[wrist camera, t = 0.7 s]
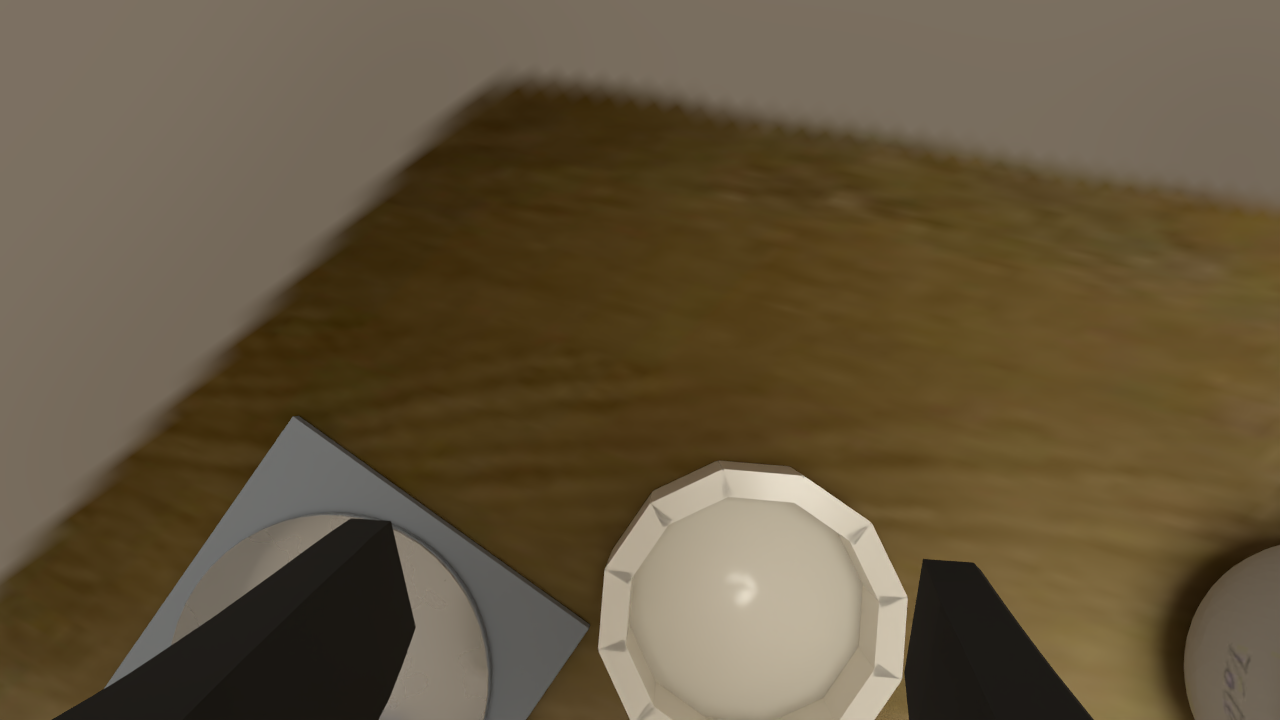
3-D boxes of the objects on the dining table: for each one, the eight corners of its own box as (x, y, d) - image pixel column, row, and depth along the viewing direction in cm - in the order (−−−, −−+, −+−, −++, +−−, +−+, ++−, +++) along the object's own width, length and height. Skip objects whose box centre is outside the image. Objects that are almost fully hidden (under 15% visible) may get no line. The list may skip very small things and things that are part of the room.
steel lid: (371, 899, 32) (325, 978, 28) (118, 709, 33) (35, 758, 28) (554, 634, 32) (536, 672, 28) (298, 449, 33) (241, 459, 28)
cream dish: (778, 790, 32) (791, 840, 28) (556, 630, 33) (542, 659, 29) (933, 565, 32) (965, 587, 29) (708, 410, 33) (712, 412, 29)
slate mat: (381, 927, 32) (377, 935, 32) (94, 709, 33) (85, 714, 33) (590, 624, 33) (588, 628, 32) (298, 415, 33) (292, 416, 33)
